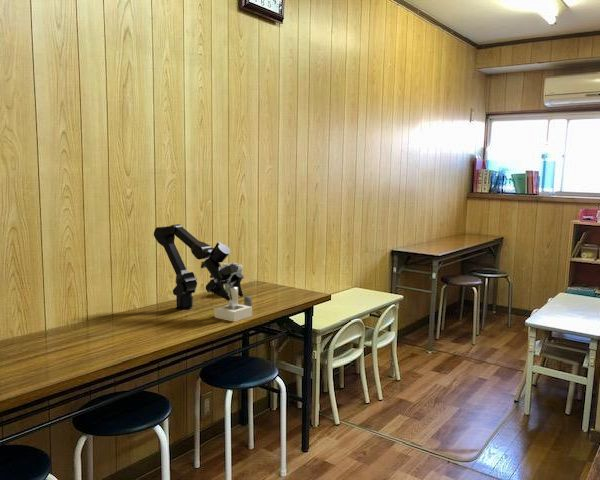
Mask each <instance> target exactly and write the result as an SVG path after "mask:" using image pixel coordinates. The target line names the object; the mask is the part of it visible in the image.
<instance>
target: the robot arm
mask: <svg viewBox="0 0 600 480" xmlns="http://www.w3.org/2000/svg"><path fill="white" fill-rule="evenodd" d="M153 237H154V239H155V241H156V242H157V243H158V244H160V245H161V246H162V247H163V249H164V252H166V255H167V257H168V260H169V262H170V264H171V266H172V269H173V270H174V273H175V275H176V276H175V283H176V286H174V288H173V289H172V294H173V295H174V296H176V306H175V309H176V310H190V309H191V308H193V306H194V296H193V294H195V293H196V289H197V285H198V282H197V280H198V279H197V278H196V277H195V276H196V275H195V274H194V272H193V271H188V270H187V267H186V266H185V264H184V261H183V259H182V257H181V255H180V251H179V250H178V249H177V246H176V244H175V237H176V238H178V239H179V240H180V241H181V243H184V245H186V246H187V247H188V248H189V249H190V250H191V251H190V252H191V254H192V255H193V257H195V258H196V259H197V260H198V261H199V260H204V261H201V264H200V269H204V268H205V269H206V270H207V271H208V272H209V274H210V275H209V278H210V281H208V283H207V284H206V285H205V291H206V292H207V293H211V294H214V295H216V296H218V297H221V298H222V299H224V300H226V301H227V302H229V300H230V297H229V296H228V294H227V292H226V291H225V284H229V285H230V286H231V287H232V286H236V287H238V297H240V298H243V296H244V295H243V293H244V292H243V289H242V287H241V282H242V280H243V279H244V278H245V277H244V275H243V273H242V274H241V273H238V274H234V275H233V276H232V277H231V275H232V273H234V272H237V270H238V265H237V264H238V263H236V262H233V263H232V262H231V263H232V264H230V265H229V266H226V267H225V266H223V265H222V264H221V263H223V262H224V261H225V260H226V258H227V257H229V255H230V254H231V249H230V247H229V246H228V245H226V244H224V243H223V242H221V241H220V242H219V241H218V242H217V243H216V244H215V246H214V247H212V246H211V245H210V244H208V243H206V242H204V241H201V240H198V239H197V238H196V237H195V236H193V234H191V233H190V232H189V231H188V230H187V229H185V228H184V227H183V225H182V224H179V223H177V224H172V225H169V226H168V225H167V226H158V227H155V229H154V231H153ZM222 266H223V267H222ZM229 277H231V278H230V279H229Z"/></svg>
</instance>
